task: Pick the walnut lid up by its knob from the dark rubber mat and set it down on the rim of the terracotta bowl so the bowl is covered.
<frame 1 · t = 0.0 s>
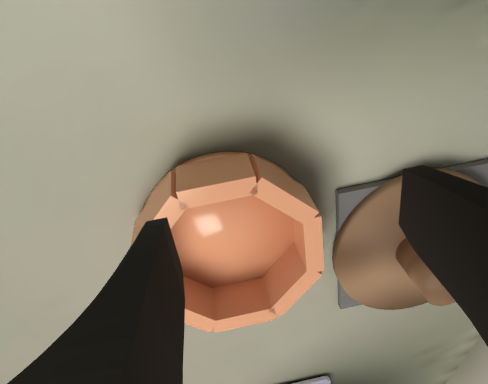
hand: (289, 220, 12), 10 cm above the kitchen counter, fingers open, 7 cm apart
lid: (411, 241, 26), resting on mat
mat: (407, 237, 27), on the kitchen counter
bowl: (225, 226, 24), on the kitchen counter
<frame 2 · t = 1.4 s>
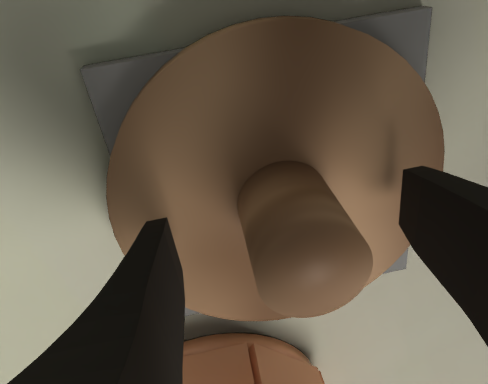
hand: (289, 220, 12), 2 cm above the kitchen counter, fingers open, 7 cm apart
lid: (277, 190, 13), resting on mat
mat: (274, 183, 14), on the kitchen counter
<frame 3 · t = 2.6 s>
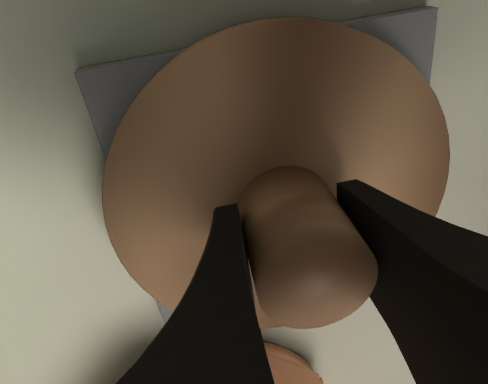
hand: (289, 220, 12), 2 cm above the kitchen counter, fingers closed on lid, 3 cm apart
lid: (278, 195, 13), resting on mat, touching gripper
mat: (275, 188, 14), on the kitchen counter
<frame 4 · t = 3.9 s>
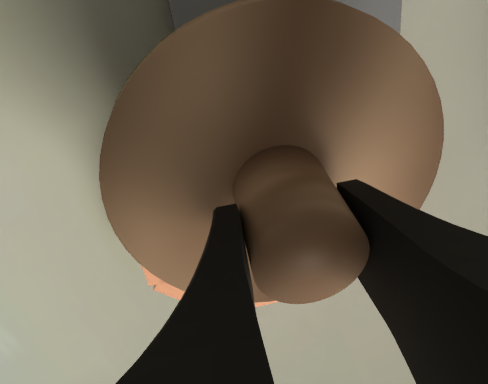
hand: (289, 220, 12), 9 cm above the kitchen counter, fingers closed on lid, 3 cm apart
lid: (273, 174, 13), point 7 cm above the kitchen counter, touching gripper
bowl: (232, 196, 22), on the kitchen counter
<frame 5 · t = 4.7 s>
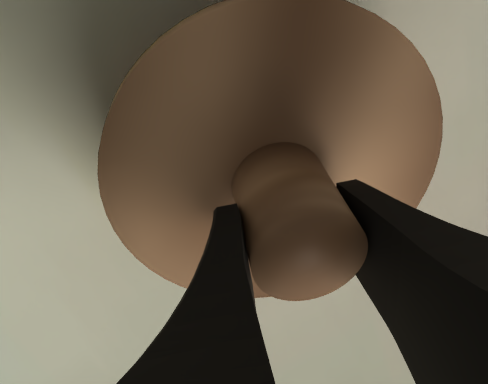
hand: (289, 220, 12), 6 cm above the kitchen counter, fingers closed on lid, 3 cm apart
lid: (272, 170, 13), point 4 cm above the kitchen counter, touching gripper
when the fingers open (6 cm above the kitchen counter, at t = 5.4 s): lid stays where it is, resting on bowl.
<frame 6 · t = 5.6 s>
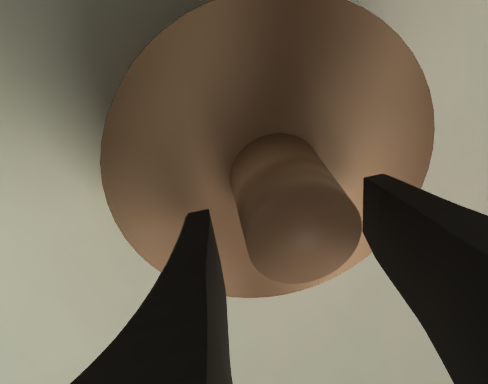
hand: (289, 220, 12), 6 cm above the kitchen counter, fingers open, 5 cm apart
lid: (270, 165, 14), point 3 cm above the kitchen counter, touching bowl
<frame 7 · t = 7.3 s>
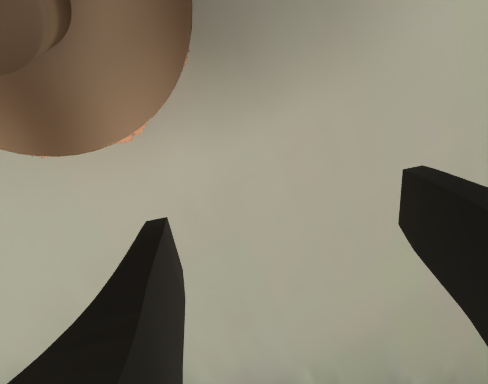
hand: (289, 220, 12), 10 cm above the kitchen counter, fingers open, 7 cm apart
lid: (30, 1, 13), point 3 cm above the kitchen counter, touching bowl
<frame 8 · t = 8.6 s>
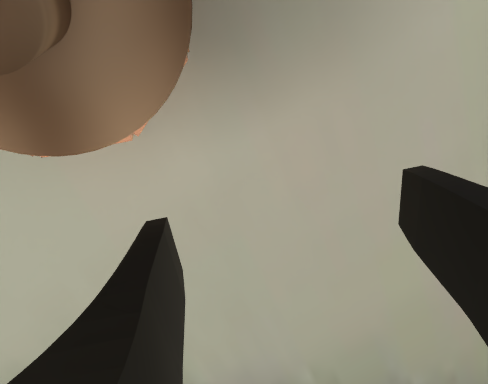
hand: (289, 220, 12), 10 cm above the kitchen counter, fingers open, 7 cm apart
lid: (30, 0, 13), point 3 cm above the kitchen counter, touching bowl
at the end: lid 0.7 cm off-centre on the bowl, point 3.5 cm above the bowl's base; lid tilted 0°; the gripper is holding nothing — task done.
